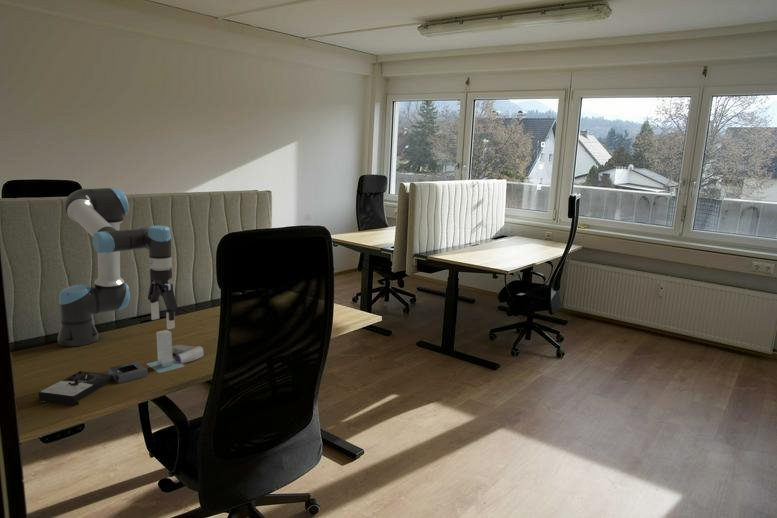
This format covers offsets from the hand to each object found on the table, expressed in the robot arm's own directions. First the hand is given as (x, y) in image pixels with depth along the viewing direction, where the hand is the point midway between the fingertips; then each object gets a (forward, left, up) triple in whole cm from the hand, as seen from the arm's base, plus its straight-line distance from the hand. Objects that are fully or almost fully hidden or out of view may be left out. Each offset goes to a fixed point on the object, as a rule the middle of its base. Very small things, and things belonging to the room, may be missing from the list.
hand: (163, 323), depth 210 cm
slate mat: (0, 0, -17) cm, 17 cm away
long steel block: (0, 0, -16) cm, 16 cm away
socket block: (+1, -14, -17) cm, 22 cm away
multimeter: (+2, -31, -18) cm, 36 cm away
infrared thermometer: (-6, +9, -18) cm, 21 cm away
